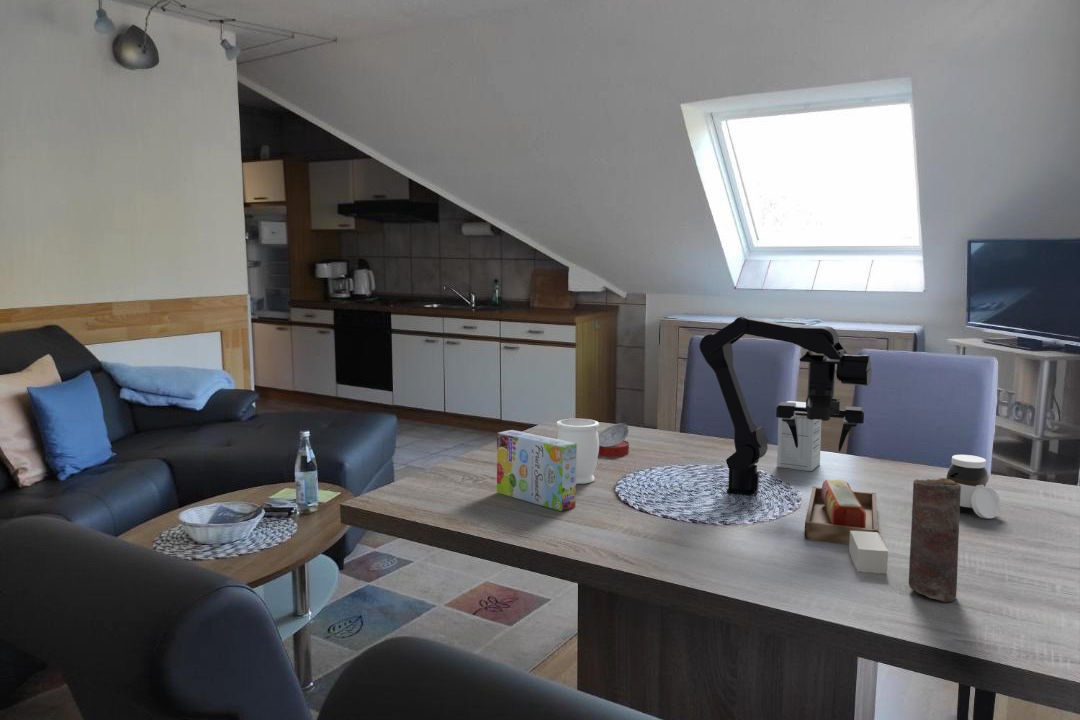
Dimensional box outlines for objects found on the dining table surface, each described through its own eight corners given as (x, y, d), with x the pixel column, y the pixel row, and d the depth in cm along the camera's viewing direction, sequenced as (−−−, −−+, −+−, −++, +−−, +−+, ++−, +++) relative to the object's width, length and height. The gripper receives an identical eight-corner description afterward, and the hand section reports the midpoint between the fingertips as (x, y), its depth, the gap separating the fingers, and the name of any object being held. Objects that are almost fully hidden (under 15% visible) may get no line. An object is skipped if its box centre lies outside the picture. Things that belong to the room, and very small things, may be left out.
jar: (550, 483, 203) (550, 424, 201) (565, 472, 213) (565, 416, 211) (591, 487, 199) (591, 428, 197) (604, 477, 209) (604, 419, 207)
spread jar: (955, 500, 190) (958, 451, 188) (1008, 511, 182) (1012, 460, 180) (935, 511, 182) (939, 460, 180) (991, 523, 174) (995, 470, 172)
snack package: (819, 503, 185) (821, 475, 184) (850, 505, 184) (852, 476, 183) (831, 535, 164) (832, 503, 164) (865, 538, 163) (867, 505, 162)
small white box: (857, 572, 148) (858, 549, 147) (848, 552, 158) (850, 530, 157) (886, 575, 147) (888, 551, 146) (876, 554, 156) (877, 532, 156)
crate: (804, 539, 164) (804, 522, 164) (811, 501, 189) (812, 486, 188) (877, 548, 159) (878, 530, 159) (875, 508, 184) (876, 493, 183)
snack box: (577, 507, 185) (578, 442, 183) (561, 512, 181) (561, 446, 179) (511, 488, 199) (511, 428, 197) (495, 493, 195) (494, 431, 193)
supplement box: (820, 464, 221) (823, 403, 219) (812, 472, 213) (815, 409, 211) (785, 459, 226) (787, 399, 224) (775, 466, 219) (778, 405, 216)
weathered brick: (907, 599, 136) (915, 483, 133) (905, 582, 143) (912, 471, 140) (958, 606, 133) (967, 488, 131) (953, 589, 140) (961, 476, 138)
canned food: (627, 471, 232) (632, 445, 226) (592, 467, 232) (596, 441, 226) (626, 445, 241) (632, 419, 235) (593, 441, 241) (597, 415, 235)
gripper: (775, 385, 180) (772, 453, 182) (865, 390, 174) (861, 461, 176) (779, 377, 191) (777, 442, 193) (865, 382, 184) (861, 450, 186)
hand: (818, 449), depth 186 cm, fingers open, 9 cm apart
